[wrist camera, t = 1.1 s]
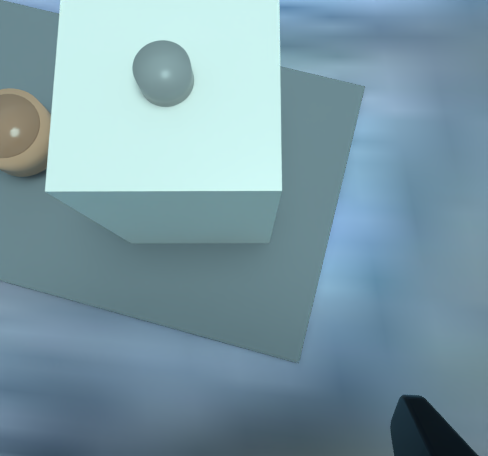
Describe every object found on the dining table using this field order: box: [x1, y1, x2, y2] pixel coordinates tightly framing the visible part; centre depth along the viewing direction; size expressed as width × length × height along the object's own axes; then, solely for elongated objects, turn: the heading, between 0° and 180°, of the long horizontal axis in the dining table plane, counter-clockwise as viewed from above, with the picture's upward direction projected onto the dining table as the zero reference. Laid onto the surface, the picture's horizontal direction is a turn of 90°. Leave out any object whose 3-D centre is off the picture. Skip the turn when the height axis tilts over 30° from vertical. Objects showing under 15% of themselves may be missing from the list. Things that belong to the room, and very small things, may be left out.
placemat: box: [0, 0, 365, 363], centre depth 23 cm, size 22×14×1 cm, turn 75°
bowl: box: [0, 88, 51, 177], centre depth 22 cm, size 4×4×3 cm
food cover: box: [45, 0, 282, 243], centre depth 18 cm, size 7×7×10 cm
